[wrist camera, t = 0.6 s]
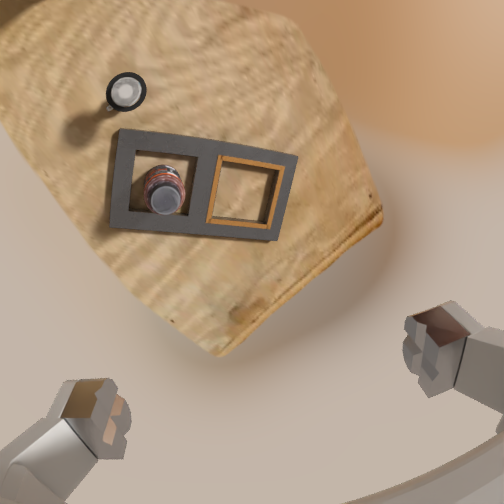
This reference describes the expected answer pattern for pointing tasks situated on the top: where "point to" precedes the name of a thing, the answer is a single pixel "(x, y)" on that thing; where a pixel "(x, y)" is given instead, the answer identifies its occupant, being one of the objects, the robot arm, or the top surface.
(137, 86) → the push button
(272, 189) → the grey rectangular frame
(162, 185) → the supplement bottle
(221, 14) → the top surface
